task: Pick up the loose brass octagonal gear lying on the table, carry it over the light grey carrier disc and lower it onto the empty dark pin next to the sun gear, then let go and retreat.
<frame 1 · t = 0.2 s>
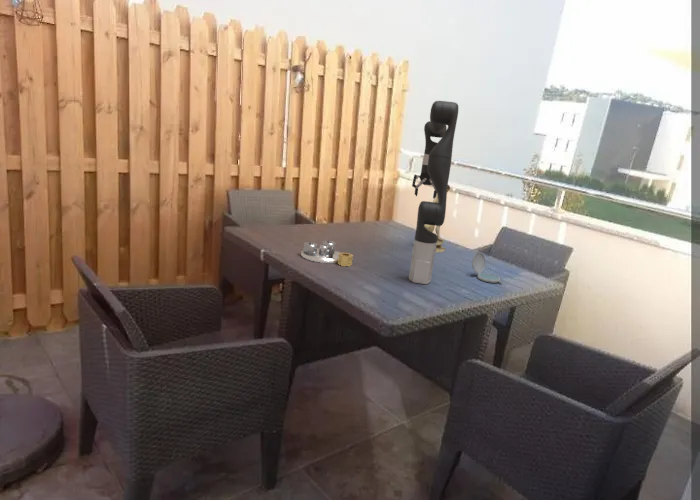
hand: (425, 197, 233), 29 cm above the table, tool pointing down, fingers open, 8 cm apart
statue: (429, 247, 256), on the table
carrier: (322, 256, 216), on the table
planet gear: (344, 264, 208), on the table
pocket watch: (487, 280, 210), on the table
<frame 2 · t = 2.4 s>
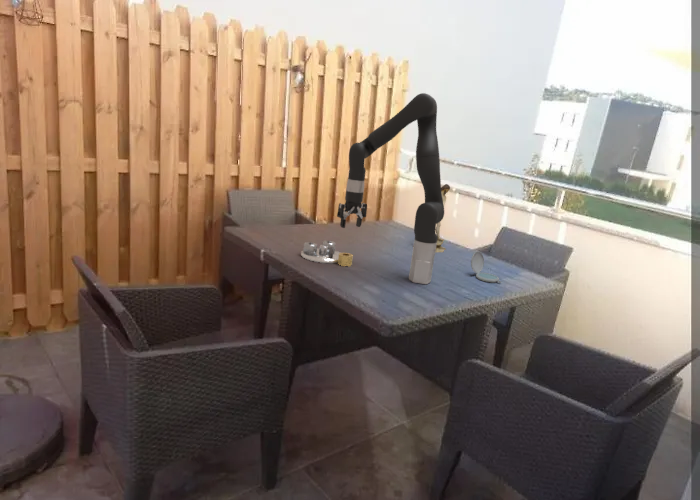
hand: (350, 227, 206), 17 cm above the table, tool pointing down, fingers open, 8 cm apart
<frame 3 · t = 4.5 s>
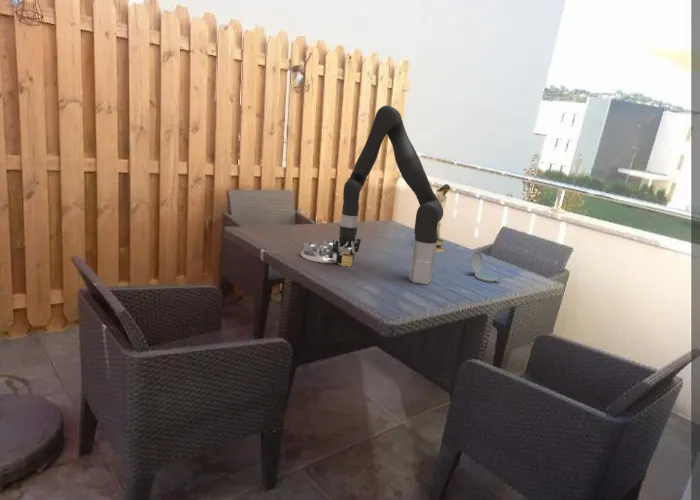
hand: (344, 261, 208), 1 cm above the table, tool pointing down, fingers closed on planet gear, 6 cm apart
planet gear: (344, 264, 208), on the table, touching gripper
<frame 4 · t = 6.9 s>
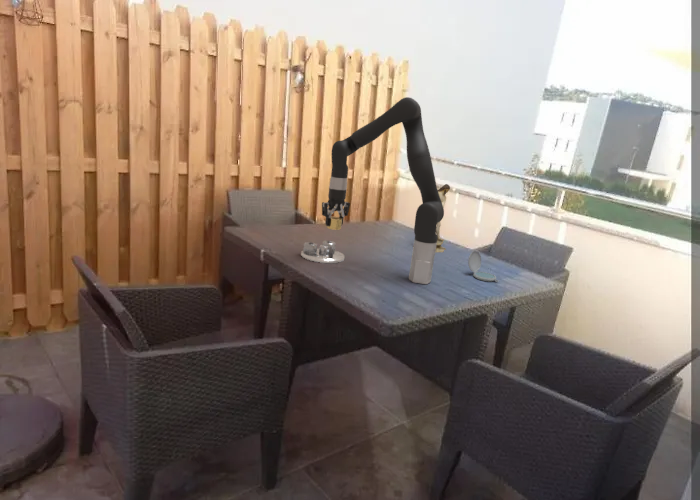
hand: (333, 225, 208), 16 cm above the table, tool pointing down, fingers closed on planet gear, 6 cm apart
planet gear: (334, 228, 208), point 15 cm above the table, touching gripper
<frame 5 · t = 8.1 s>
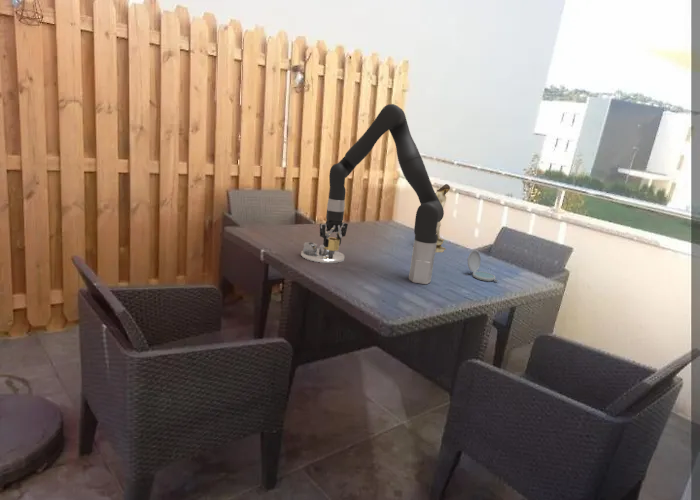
hand: (331, 246, 210), 7 cm above the table, tool pointing down, fingers closed on planet gear, 6 cm apart
planet gear: (331, 248, 210), point 6 cm above the table, touching gripper
when the fingers open (4 cm above the table, at t = 9.2 s): planet gear drops 1 cm, resting on carrier.
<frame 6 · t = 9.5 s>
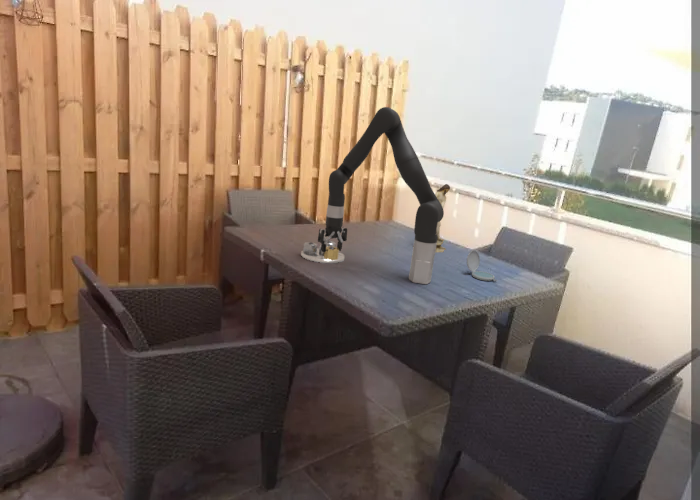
hand: (331, 251, 211), 4 cm above the table, tool pointing down, fingers open, 8 cm apart
planet gear: (331, 258, 211), point 1 cm above the table, touching carrier
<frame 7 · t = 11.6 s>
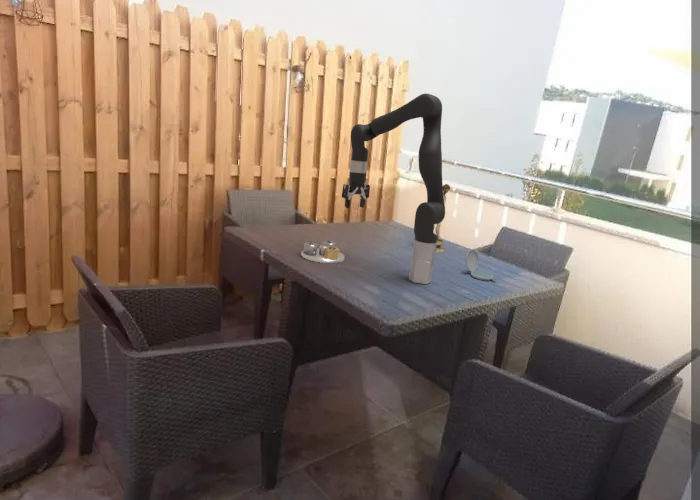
hand: (354, 207, 212), 24 cm above the table, tool pointing down, fingers open, 8 cm apart
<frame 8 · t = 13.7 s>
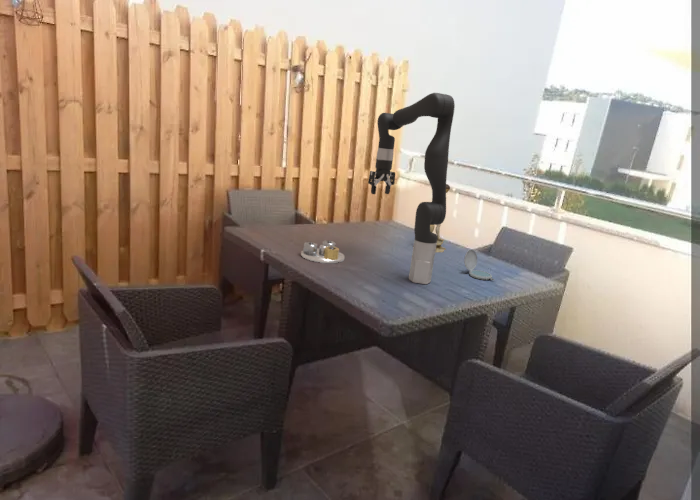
hand: (380, 193, 219), 30 cm above the table, tool pointing down, fingers open, 8 cm apart
at the end: planet gear 0.3 cm from the target spot on the carrier, point 1.2 cm above the carrier's base; the gripper is holding nothing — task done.
